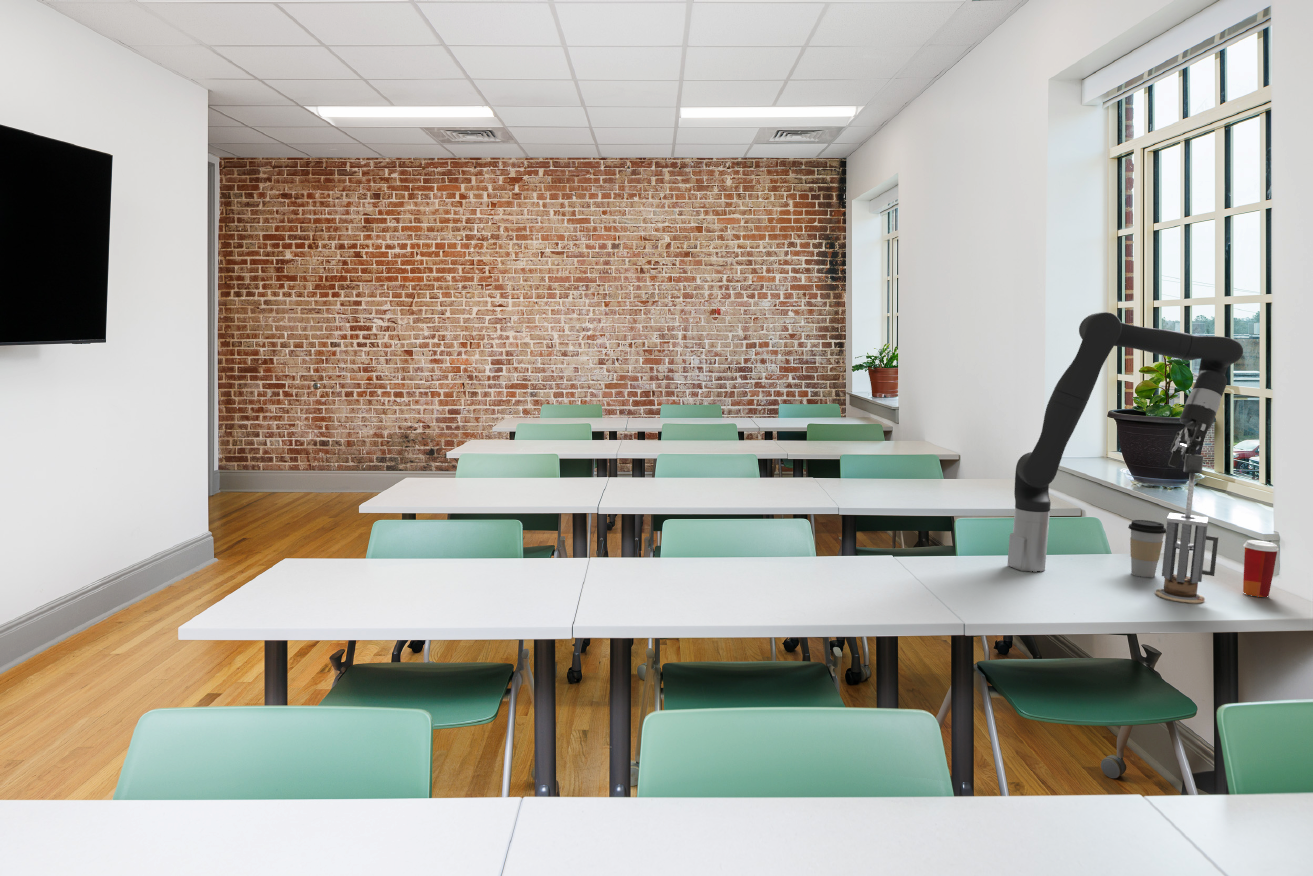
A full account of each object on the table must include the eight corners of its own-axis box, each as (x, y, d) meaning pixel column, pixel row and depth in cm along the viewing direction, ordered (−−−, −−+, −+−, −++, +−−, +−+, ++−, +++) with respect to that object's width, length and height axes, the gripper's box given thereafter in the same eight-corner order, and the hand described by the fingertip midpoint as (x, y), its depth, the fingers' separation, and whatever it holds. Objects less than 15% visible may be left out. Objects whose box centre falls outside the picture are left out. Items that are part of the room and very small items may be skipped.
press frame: (1153, 597, 225) (1161, 517, 223) (1157, 588, 234) (1164, 511, 232) (1210, 607, 218) (1219, 525, 216) (1212, 597, 227) (1220, 518, 225)
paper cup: (1267, 592, 233) (1274, 541, 232) (1277, 600, 226) (1283, 547, 225) (1234, 589, 236) (1239, 538, 234) (1242, 596, 229) (1248, 544, 227)
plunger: (1185, 551, 222) (1195, 456, 219) (1165, 545, 227) (1175, 453, 224) (1204, 550, 223) (1214, 456, 220) (1184, 544, 229) (1193, 453, 226)
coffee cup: (1166, 580, 243) (1172, 527, 241) (1130, 577, 244) (1135, 525, 243) (1154, 571, 252) (1160, 520, 250) (1119, 569, 254) (1124, 518, 252)
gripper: (1174, 409, 241) (1153, 462, 239) (1198, 397, 227) (1176, 453, 226) (1202, 419, 240) (1181, 473, 238) (1228, 408, 226) (1206, 465, 224)
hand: (1179, 463), depth 232 cm, fingers open, 8 cm apart
